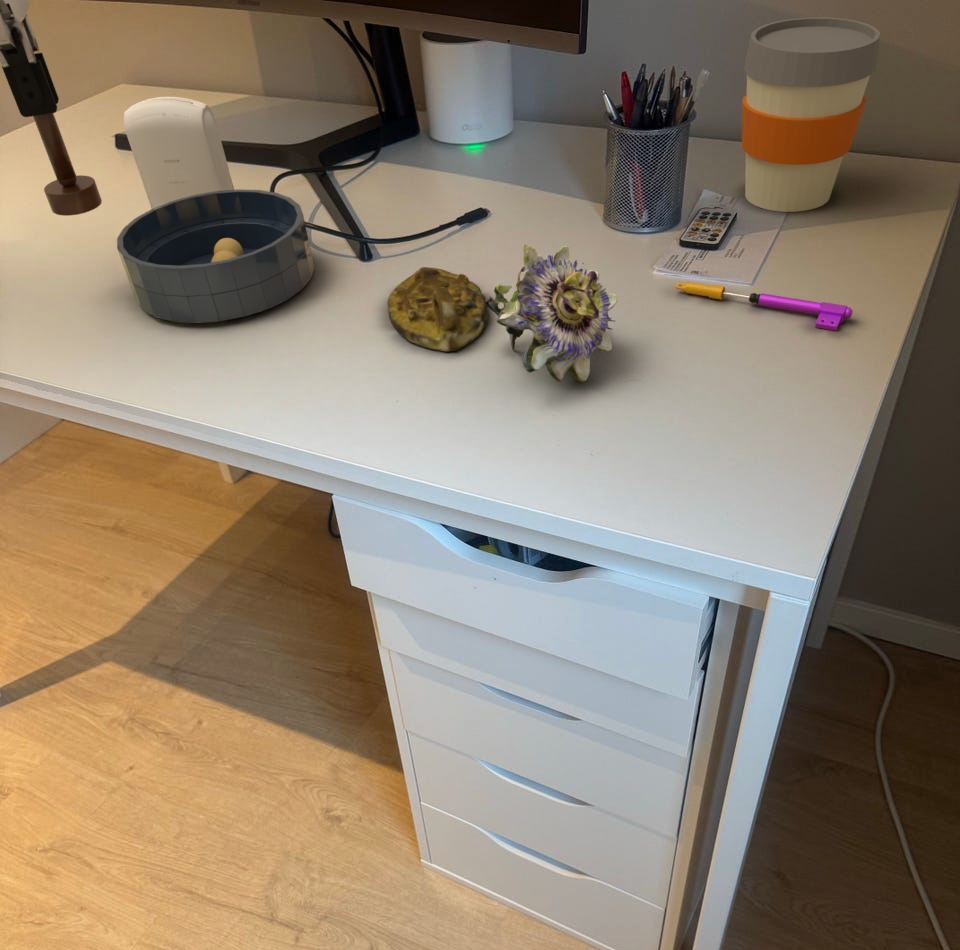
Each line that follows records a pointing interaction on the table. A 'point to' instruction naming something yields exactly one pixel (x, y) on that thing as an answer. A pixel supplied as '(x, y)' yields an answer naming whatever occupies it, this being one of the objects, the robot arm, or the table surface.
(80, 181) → the wooden dough tamper
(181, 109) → the photo printer
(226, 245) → the dough ball
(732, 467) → the table surface
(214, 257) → the dough ball
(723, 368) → the table surface
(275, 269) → the bowl
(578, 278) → the passion flower
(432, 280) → the lumpy olive cookie
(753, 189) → the reusable coffee cup
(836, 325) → the piston cylinder
